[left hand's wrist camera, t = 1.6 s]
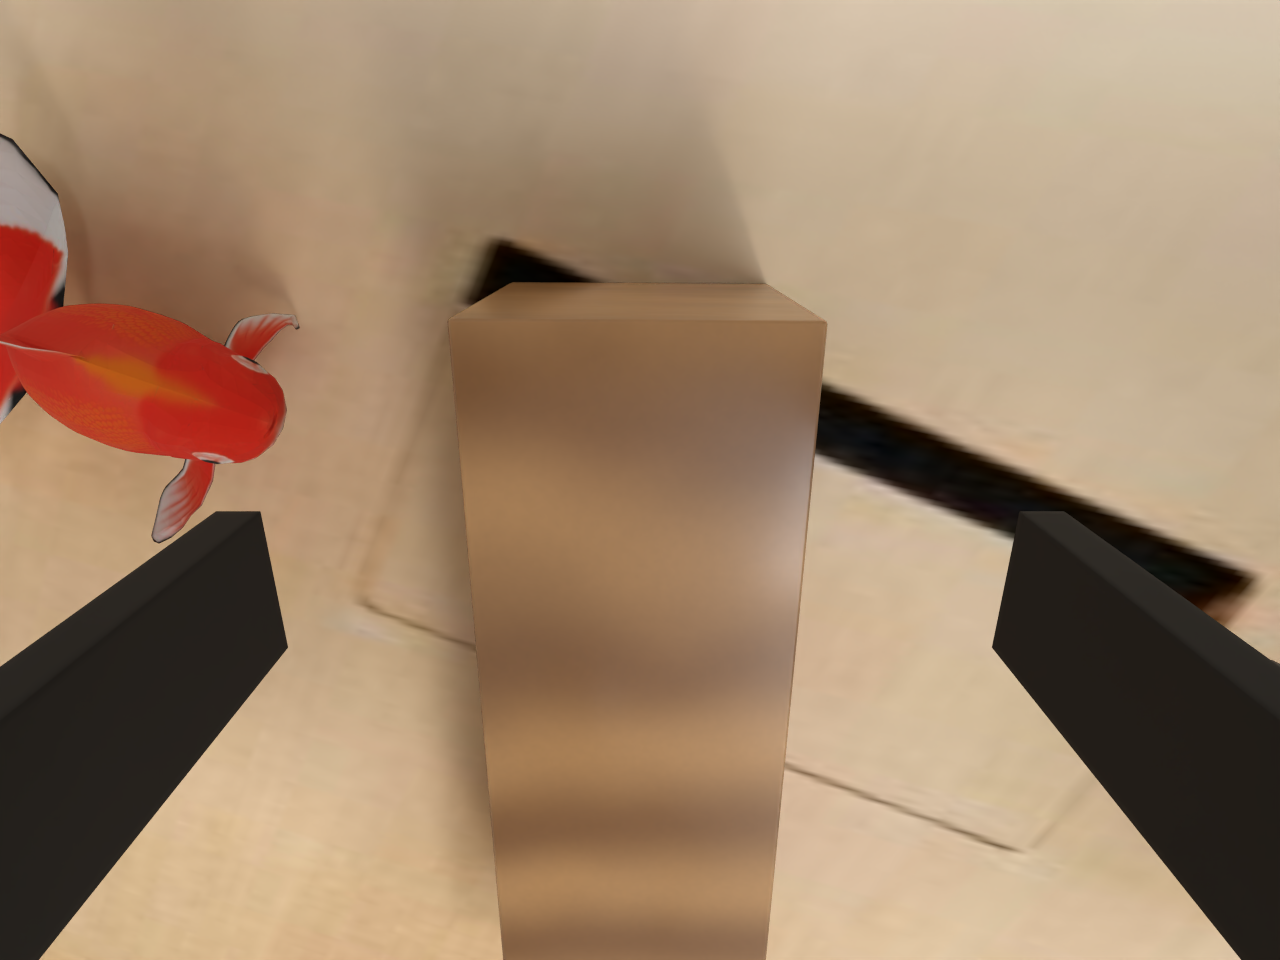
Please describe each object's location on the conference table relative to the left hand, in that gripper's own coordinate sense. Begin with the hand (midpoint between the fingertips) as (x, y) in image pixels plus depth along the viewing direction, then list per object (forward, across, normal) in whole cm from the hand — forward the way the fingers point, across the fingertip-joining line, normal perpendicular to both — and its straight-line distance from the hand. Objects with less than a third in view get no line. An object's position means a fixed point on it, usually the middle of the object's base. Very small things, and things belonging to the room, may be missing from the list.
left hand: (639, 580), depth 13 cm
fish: (+14, -18, +2) cm, 23 cm away
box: (+14, 0, -10) cm, 17 cm away
